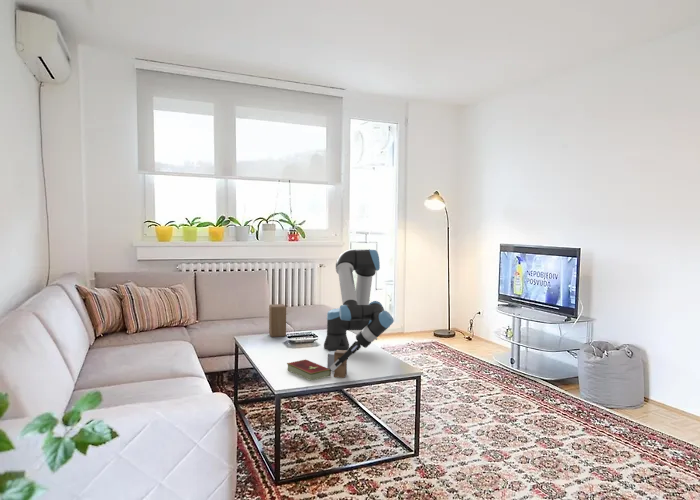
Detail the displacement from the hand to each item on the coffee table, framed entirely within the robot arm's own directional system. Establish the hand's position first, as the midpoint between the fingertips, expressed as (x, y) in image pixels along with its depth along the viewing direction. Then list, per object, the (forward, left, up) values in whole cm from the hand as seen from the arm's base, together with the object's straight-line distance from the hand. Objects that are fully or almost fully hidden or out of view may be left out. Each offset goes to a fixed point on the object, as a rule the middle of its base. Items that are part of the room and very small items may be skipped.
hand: (333, 367), depth 235 cm
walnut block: (0, +4, -4) cm, 5 cm away
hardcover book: (0, -13, -4) cm, 13 cm away
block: (-70, -58, -4) cm, 91 cm away
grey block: (-11, -2, -4) cm, 12 cm away
